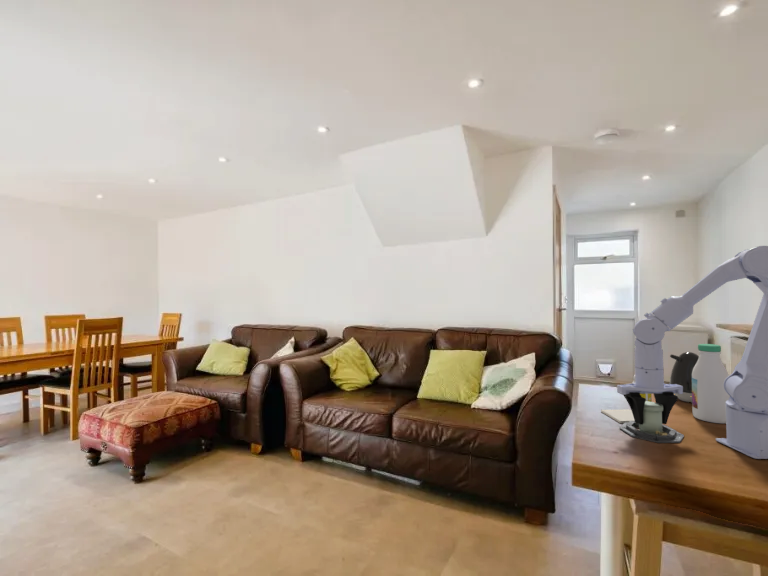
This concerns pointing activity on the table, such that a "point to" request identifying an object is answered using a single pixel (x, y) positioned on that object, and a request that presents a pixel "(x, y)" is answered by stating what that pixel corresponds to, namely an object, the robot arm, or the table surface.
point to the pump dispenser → (684, 374)
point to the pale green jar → (652, 418)
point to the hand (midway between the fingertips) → (650, 422)
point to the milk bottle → (709, 385)
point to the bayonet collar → (658, 438)
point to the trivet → (620, 415)
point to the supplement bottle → (646, 396)
